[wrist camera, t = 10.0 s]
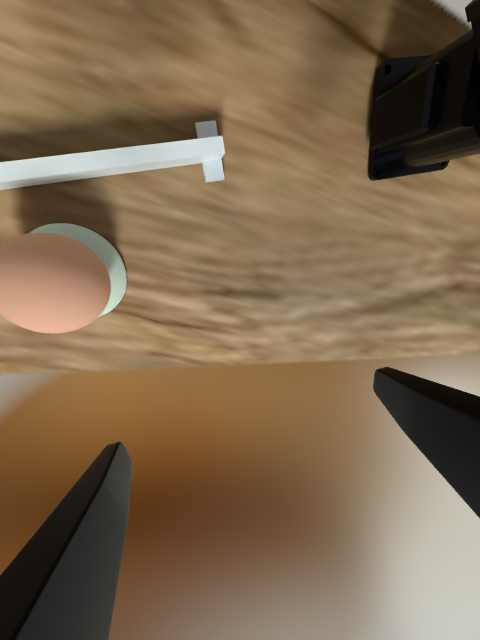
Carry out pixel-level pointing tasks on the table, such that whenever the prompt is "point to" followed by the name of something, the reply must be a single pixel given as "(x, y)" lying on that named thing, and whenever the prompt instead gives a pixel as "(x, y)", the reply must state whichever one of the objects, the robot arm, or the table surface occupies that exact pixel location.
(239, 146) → the table surface
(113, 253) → the felt coaster
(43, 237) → the ball
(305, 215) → the table surface
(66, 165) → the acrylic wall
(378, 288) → the table surface
